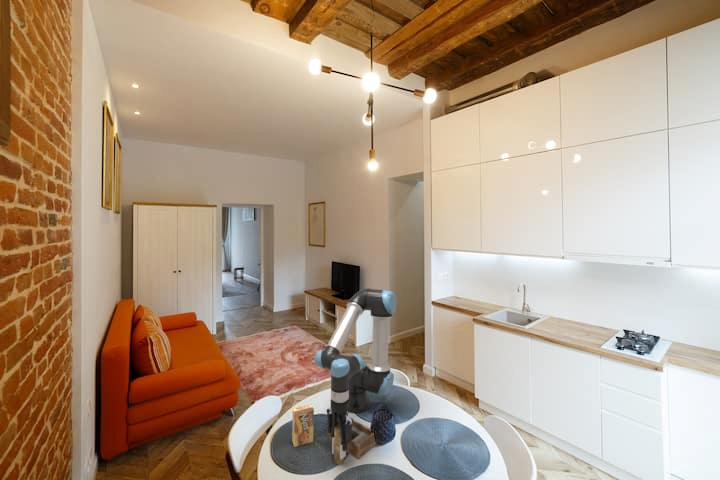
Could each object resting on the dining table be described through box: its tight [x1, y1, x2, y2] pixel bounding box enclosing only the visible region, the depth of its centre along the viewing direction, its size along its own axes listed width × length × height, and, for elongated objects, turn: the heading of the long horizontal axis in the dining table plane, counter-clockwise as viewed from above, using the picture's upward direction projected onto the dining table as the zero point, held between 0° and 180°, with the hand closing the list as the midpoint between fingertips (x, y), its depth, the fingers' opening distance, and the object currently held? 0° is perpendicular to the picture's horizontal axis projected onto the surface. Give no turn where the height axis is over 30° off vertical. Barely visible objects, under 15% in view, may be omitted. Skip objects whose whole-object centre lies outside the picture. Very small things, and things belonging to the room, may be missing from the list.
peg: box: [333, 424, 345, 465], centre depth 123 cm, size 4×4×14 cm
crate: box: [326, 416, 377, 460], centre depth 135 cm, size 19×12×6 cm, turn 49°
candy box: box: [291, 404, 315, 448], centre depth 134 cm, size 9×4×15 cm, turn 116°
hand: (338, 454), depth 123 cm, fingers closed on peg, 4 cm apart
